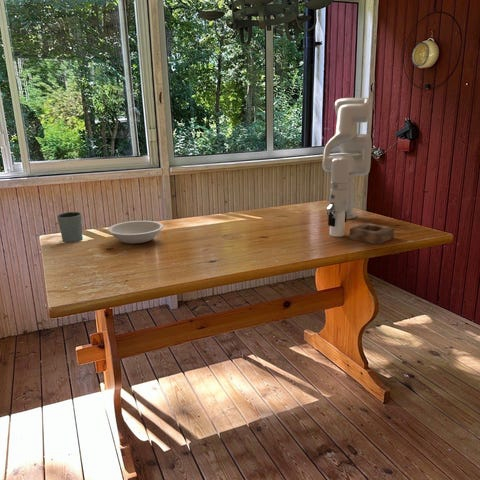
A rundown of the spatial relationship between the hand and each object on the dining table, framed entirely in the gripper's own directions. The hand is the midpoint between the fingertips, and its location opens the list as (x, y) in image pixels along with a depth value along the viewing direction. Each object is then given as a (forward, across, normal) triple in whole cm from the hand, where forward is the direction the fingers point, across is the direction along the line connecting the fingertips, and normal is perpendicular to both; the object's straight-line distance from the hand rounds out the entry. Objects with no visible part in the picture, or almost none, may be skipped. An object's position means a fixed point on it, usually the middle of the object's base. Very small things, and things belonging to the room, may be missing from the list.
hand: (337, 223), depth 202 cm
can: (+6, 0, 0) cm, 6 cm away
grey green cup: (+6, -83, +86) cm, 120 cm away
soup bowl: (+6, -65, +62) cm, 90 cm away
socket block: (+5, +6, -14) cm, 16 cm away
